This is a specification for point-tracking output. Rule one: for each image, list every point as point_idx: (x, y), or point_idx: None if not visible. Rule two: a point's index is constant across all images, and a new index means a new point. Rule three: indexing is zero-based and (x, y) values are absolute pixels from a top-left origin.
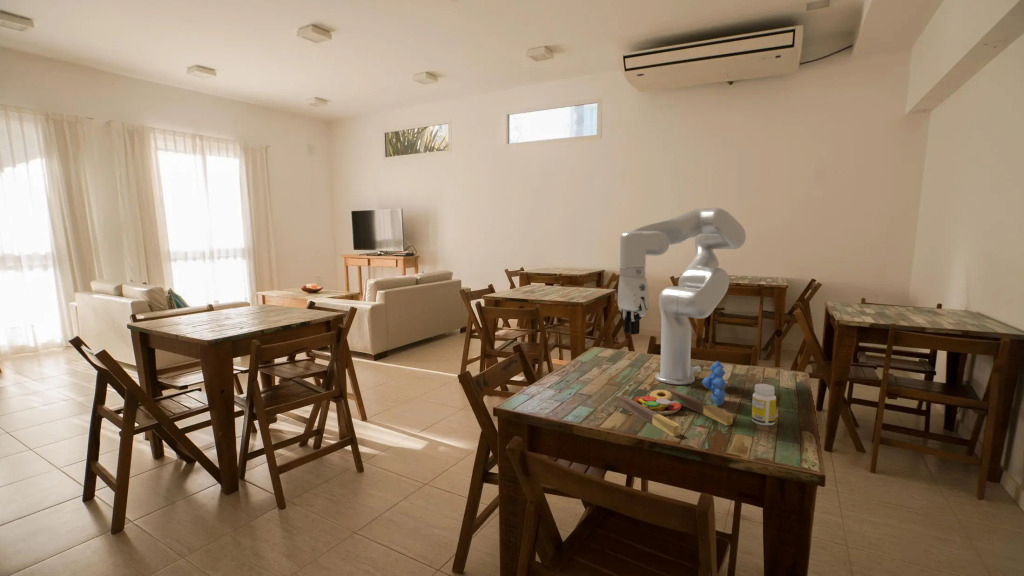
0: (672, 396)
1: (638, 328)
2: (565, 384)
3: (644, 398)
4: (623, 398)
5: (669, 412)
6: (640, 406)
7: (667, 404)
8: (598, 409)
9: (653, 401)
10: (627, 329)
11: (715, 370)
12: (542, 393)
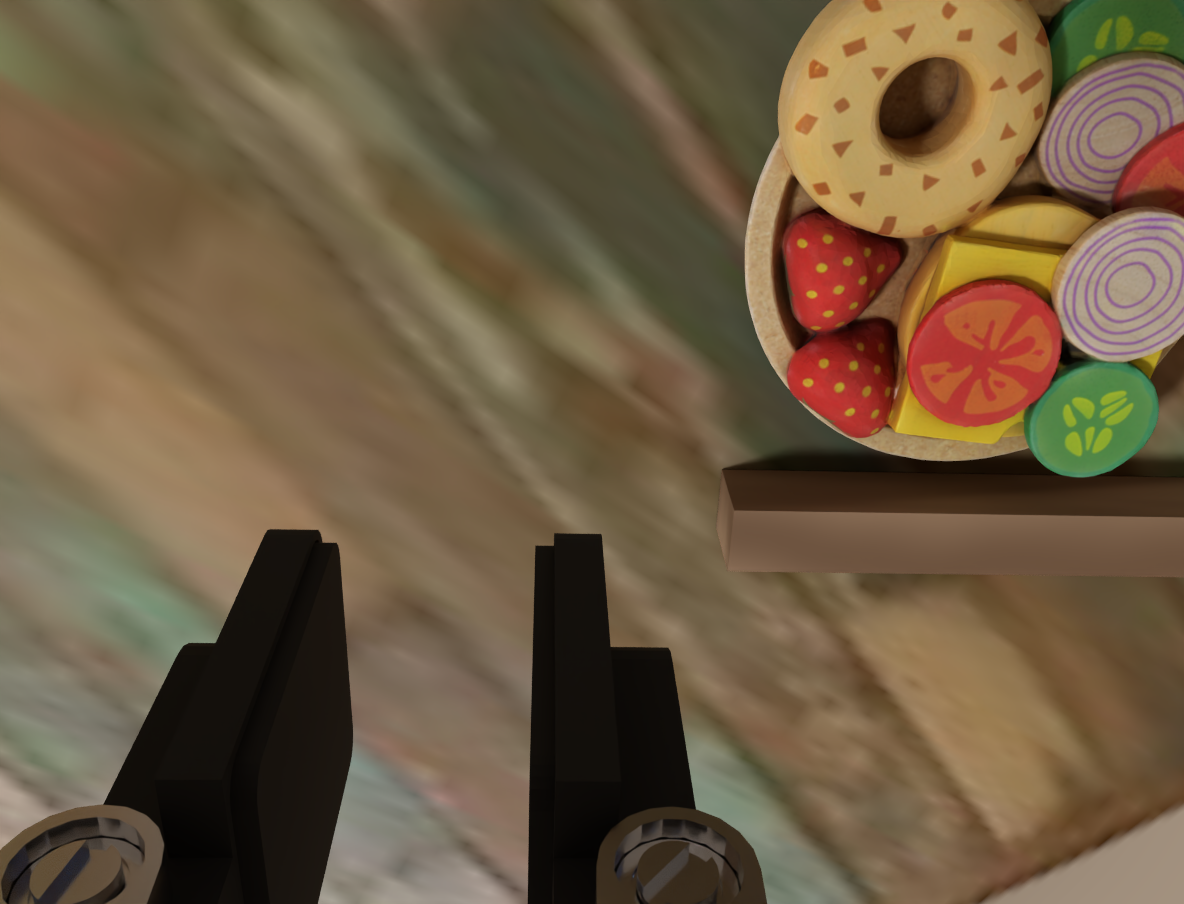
0: (1037, 17)
1: (672, 689)
2: (5, 645)
3: (956, 406)
4: (815, 555)
5: None
6: (1063, 544)
7: None
8: (735, 705)
9: (1073, 383)
10: (334, 744)
11: None
12: None
